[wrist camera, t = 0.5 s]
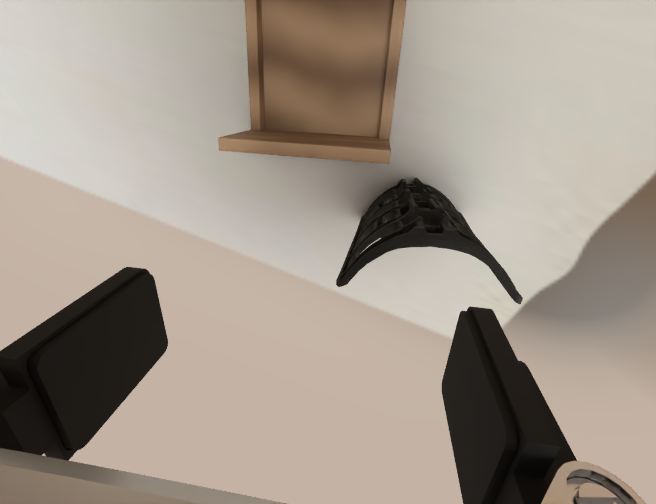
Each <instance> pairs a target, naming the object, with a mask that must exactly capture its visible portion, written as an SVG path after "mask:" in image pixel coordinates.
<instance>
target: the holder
mask: <svg viewBox="0 0 656 504" xmlns="http://www.w3.org/2000/svg"><path fill="white" fill-rule="evenodd" d="M379 238H381V239H380V240H378V241H377V242H375V243H373V244H372V245H371V246H369V245H370V244H371V243H372V242H374V241H376V240H377V239H379ZM367 246H369V247H368V248H367V249H366V250H364V249H365V248H366V247H367ZM429 246H431V247H438V248H447V249H452V250H457V251H460V252H464V253H467V254H470V255H472V256H474V257H476V258H478V259H479V260H481V261H482V262H484V263H485V264H486V265H488V266H489V268H490V269H491V270H492V272H493V273H494V274H495V276H496V277H497V279H498V280H499V281H500V283H501V284H502V285H503V287H504V288H505V290H506V291H507V292H508V294H509V295H510V296H511V298H512V299H513V300H514V301H515V302H516V303H518V304H521V302H522V299H523V298H522V297H521V295H520V294H519V293H518V291H517V290H516V288H515V286H514V284H513V283H512V281H511V279H510V278H509V276H508V275H507V273H506V272H505V270H504V269H503V268H502V267H501V265H500V264H499V263H498V262H497V261H496V259H495V258H494V257H493V256H492V255H491V253H490V252H489V251H488V250H487V249H486V248H485V247H484V245H483V244H482V243H481V242H480V240H479V239H478V238H477V237H476V236H475V235H474V233H473V232H472V230H471V229H470V227H469V225H468V224H467V222H466V220H465V219H464V217H463V216H462V214H461V213H460V212H458V211H457V210H456V208H455V207H454V205H453V204H452V203H451V202H450V200H449V199H448V198H447V197H446V196H445V195H443V194H442V193H441V192H439V191H438V190H436V189H435V188H433V187H431V186H429V185H425V184H423V183H422V182H421V181H419V179H417V178H415V184H407V185H406V182H405V179H402V180H401V181H400V182H399V183H398V184H397V186H395V187H393V188H390V189H388V190H387V191H386V192H384V193H383V194H382V195H380V196H379V197H378V198H377V199H376V200H375V201H374V202H373V203H372V205H371V206H370V208H369V209H368V211H367V212H366V214H365V215H364V216H363V217H362V218H361V221H360V223H359V226H358V229H357V232H356V234H355V237H354V239H353V242H352V244H351V246H350V249H349V251H348V254H347V257H346V259H345V262H344V264H343V267H342V269H341V271H340V274H339V276H338V278H337V281H336V285H337V286H338V287H340V286H344V285H346V284H348V282H349V281H350V280H351V279H352V278H353V277H354V276H355V275H356V273H357V272H358V271H359V270H360V269H362V268H363V267H364V266H365V265H366V264H368V263H369V262H371V261H373V260H374V259H376V258H378V257H379V256H381V255H383V254H384V253H386V252H388V251H391V250H395V249H398V248H407V247H429ZM363 250H364V251H363ZM362 251H363V252H362ZM361 252H362V253H361Z"/></svg>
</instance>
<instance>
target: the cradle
mask: <svg viewBox="0 0 656 504" xmlns="http://www.w3.org/2000/svg"><path fill="white" fill-rule="evenodd" d="M405 8H406V0H245V9H246V31H247V52H248V74H249V95H250V117H251V130H249V131H244V132H240V133H236V134H232V135H228V136H224V137H220V138H218V141H219V150H220V151H232V152H245V153H258V154H270V155H283V156H296V157H308V158H321V159H334V160H347V161H359V162H372V163H385V164H389V160H390V152H391V150H390V142H389V137H390V129H391V121H392V113H393V105H394V97H395V89H396V81H397V73H398V65H399V57H400V49H401V41H402V33H403V24H404V16H405Z"/></svg>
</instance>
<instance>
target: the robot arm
mask: <svg viewBox="0 0 656 504" xmlns="http://www.w3.org/2000/svg"><path fill="white" fill-rule="evenodd" d="M167 346H168V339H167V335H166V330H165V326H164V321H163V317H162V312H161V308H160V303H159V298H158V294H157V289H156V285H155V280H154V277H153V276H152V275H151V274H150V273H149V272H148V270H146V269H141V268H132V267H126V268H124V269H122V270H121V271H119V272H118V273H116V274H115V275H113V276H112V277H110V278H109V279H107V280H106V281H104V282H103V283H101V284H100V285H98V286H97V287H95V288H94V289H92V290H91V291H89V292H88V293H86V294H85V295H83V296H82V297H81V298H79V299H77V300H76V301H74V302H73V303H71V304H70V305H68V306H67V307H65V308H64V309H63V310H61V311H59V312H58V313H56V314H55V315H54V316H52V317H51V318H49V319H47V320H46V321H45V322H43V323H41V324H40V325H39V326H37V327H36V328H34V329H32V330H31V331H30V332H28V333H27V334H25V335H24V336H22V337H21V338H19V339H18V340H16V341H15V342H13V343H12V344H10V345H9V346H7V347H6V348H4V349H3V350H1V351H0V504H285V503H280V502H275V501H270V500H266V499H260V498H256V497H251V496H246V495H241V494H235V493H231V492H226V491H221V490H216V489H211V488H206V487H201V486H196V485H191V484H186V483H180V482H175V481H170V480H165V479H160V478H155V477H149V476H145V475H140V474H135V473H130V472H125V471H119V470H114V469H109V468H103V467H98V466H93V465H88V464H83V463H77V462H72V461H68V460H69V459H70V458H71V457H72V456H73V455H74V453H75V452H76V451H77V450H79V449H81V448H83V447H84V446H85V445H86V444H87V443H88V442H89V441H90V440H91V439H92V437H93V436H94V435H95V434H96V433H97V431H98V430H99V429H100V428H101V427H102V425H103V424H104V423H105V422H106V421H107V420H108V419H109V417H110V416H111V415H112V414H113V413H114V411H115V410H116V409H117V408H118V407H119V406H120V404H121V403H122V402H123V401H124V400H125V399H126V397H127V396H128V395H129V394H130V393H131V392H132V390H133V389H134V388H135V387H136V386H137V384H138V383H139V382H140V381H141V380H142V379H143V377H144V376H145V375H146V374H147V372H148V371H149V370H150V369H151V368H152V367H153V365H154V364H155V363H156V362H157V361H158V360H159V358H160V357H161V356H162V355H163V354H164V352H165V351H166V349H167ZM442 395H443V400H444V405H445V411H446V415H447V421H448V426H449V431H450V437H451V442H452V446H453V451H454V457H455V462H456V468H457V473H458V478H459V483H460V488H461V494H462V499H463V503H464V504H646V503H645V501H644V500H643V499H642V498H641V497H640V496H639V495H638V494H637V493H636V492H635V491H634V490H633V489H632V488H631V487H630V486H629V485H628V484H626V483H625V482H624V481H622V480H621V479H620V478H618V477H617V476H616V475H614V474H612V473H610V472H609V471H607V470H605V469H603V468H601V467H599V466H596V465H593V464H591V463H587V462H581V461H577V460H576V458H575V456H574V454H573V452H572V450H571V448H570V446H569V445H568V443H567V441H566V439H565V437H564V435H563V434H562V432H561V429H560V427H559V425H558V424H557V422H556V420H555V418H554V416H553V414H552V412H551V410H550V409H549V406H548V405H547V403H546V401H545V399H544V397H543V395H542V393H541V391H540V389H539V387H538V385H537V384H536V382H535V380H534V378H533V376H532V374H531V372H530V370H529V369H528V367H527V366H526V364H525V363H523V362H522V361H518V360H517V358H516V356H515V354H514V352H513V350H512V348H511V346H510V344H509V342H508V340H507V338H506V336H505V334H504V332H503V330H502V328H501V326H500V324H499V322H498V320H497V318H496V316H495V314H494V312H493V310H492V309H486V308H477V307H469V308H468V309H467V311H461V312H460V315H459V319H458V322H457V326H456V330H455V334H454V338H453V342H452V346H451V350H450V353H449V357H448V361H447V365H446V369H445V372H444V376H443V380H442ZM43 453H45V455H46V456H41V455H42V454H43Z"/></svg>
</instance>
